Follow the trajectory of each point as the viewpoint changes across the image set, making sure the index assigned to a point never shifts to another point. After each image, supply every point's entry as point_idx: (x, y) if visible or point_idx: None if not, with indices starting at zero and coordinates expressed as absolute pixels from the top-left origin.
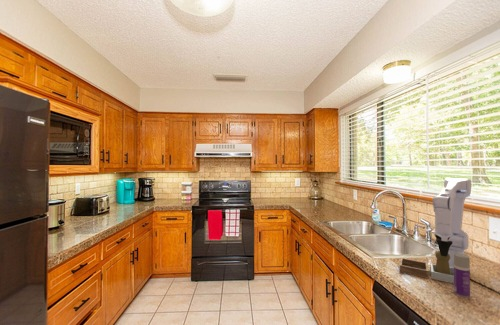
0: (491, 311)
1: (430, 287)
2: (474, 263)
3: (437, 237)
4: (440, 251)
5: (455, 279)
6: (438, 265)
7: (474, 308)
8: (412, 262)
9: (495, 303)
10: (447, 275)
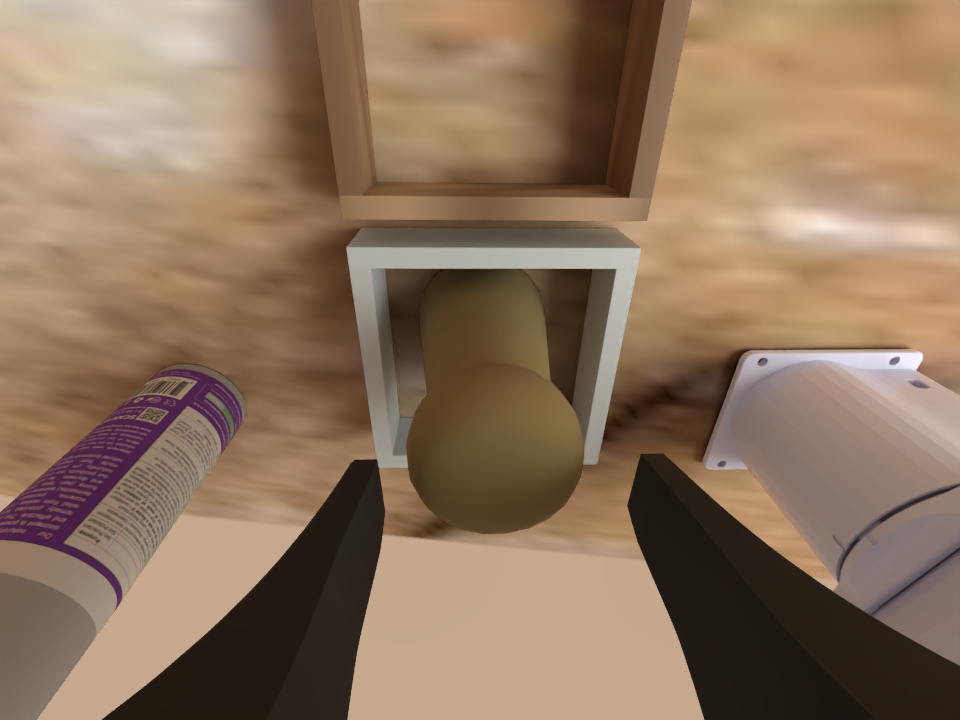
0: None
1: (117, 207)
2: None
3: (813, 695)
4: (319, 511)
5: (73, 447)
6: (442, 339)
7: (31, 437)
8: (650, 15)
9: (228, 519)
10: (365, 371)
